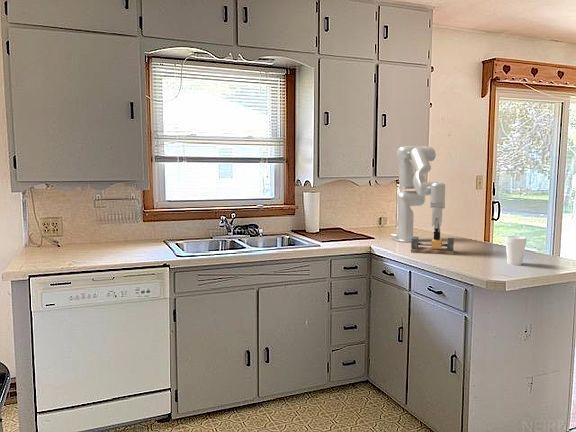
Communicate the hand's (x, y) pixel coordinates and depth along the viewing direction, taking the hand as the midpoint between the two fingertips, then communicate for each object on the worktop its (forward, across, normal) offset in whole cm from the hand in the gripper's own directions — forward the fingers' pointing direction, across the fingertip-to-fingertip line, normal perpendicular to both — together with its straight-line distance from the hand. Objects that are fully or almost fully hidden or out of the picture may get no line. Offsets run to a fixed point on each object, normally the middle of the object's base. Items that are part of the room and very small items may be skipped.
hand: (436, 238), depth 263 cm
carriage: (+5, 0, 0) cm, 5 cm away
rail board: (+8, 0, -2) cm, 8 cm away
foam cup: (+8, +21, +38) cm, 44 cm away
